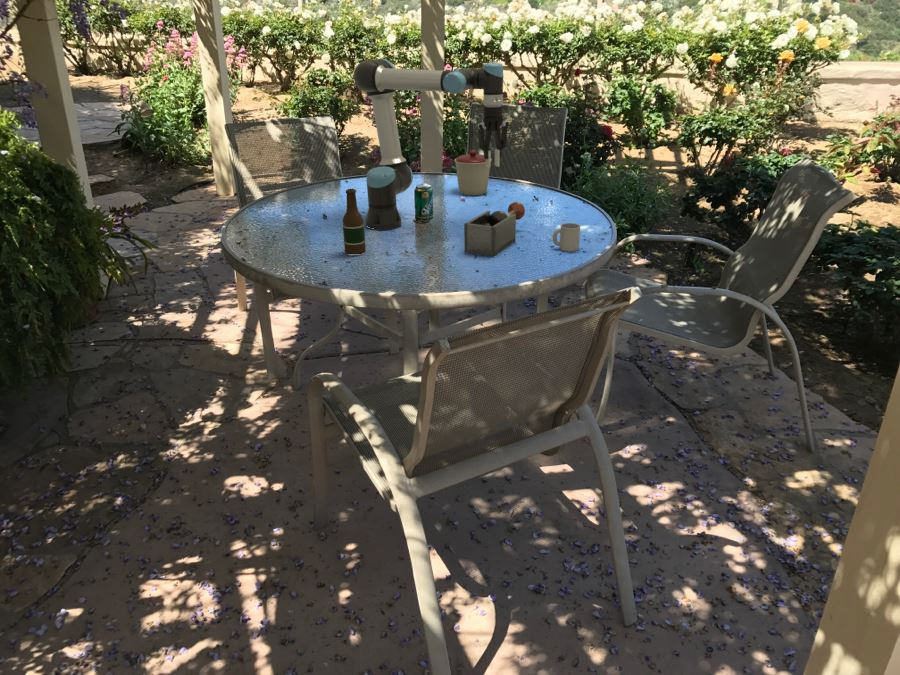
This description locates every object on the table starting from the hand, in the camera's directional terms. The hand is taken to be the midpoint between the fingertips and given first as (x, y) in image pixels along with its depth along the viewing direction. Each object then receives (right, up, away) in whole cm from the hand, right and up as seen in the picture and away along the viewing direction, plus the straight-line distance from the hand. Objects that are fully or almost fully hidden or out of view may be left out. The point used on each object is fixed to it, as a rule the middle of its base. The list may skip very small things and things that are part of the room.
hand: (492, 166), depth 282 cm
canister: (-6, +2, +62) cm, 62 cm away
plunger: (+6, -25, -4) cm, 26 cm away
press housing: (-2, -34, -15) cm, 38 cm away
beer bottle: (-53, -37, -19) cm, 67 cm away
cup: (+26, -36, -19) cm, 48 cm away
